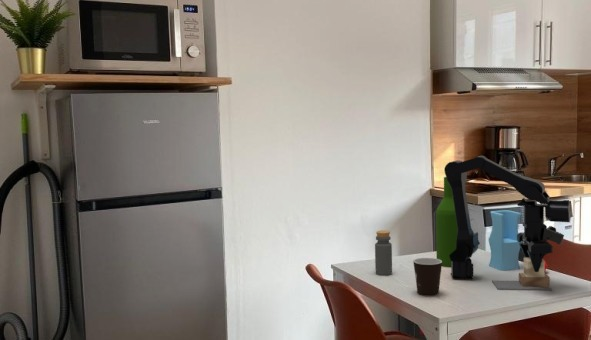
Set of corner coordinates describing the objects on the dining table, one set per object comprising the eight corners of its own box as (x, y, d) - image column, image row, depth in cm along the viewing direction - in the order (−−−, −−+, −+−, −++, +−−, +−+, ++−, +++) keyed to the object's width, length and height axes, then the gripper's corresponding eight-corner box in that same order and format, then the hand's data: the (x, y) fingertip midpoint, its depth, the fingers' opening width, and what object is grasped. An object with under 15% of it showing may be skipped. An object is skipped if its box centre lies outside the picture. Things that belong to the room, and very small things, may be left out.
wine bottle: (464, 266, 201) (463, 177, 199) (439, 267, 201) (438, 178, 199) (457, 261, 210) (456, 175, 207) (434, 261, 210) (433, 176, 208)
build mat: (497, 289, 172) (497, 288, 172) (492, 281, 181) (492, 280, 181) (552, 290, 170) (552, 289, 170) (543, 282, 179) (543, 281, 179)
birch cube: (527, 277, 173) (527, 261, 173) (523, 272, 178) (523, 257, 178) (544, 277, 172) (544, 261, 172) (540, 272, 177) (540, 257, 177)
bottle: (373, 275, 194) (372, 232, 193) (377, 270, 199) (376, 229, 198) (390, 276, 192) (389, 233, 190) (393, 271, 197) (393, 230, 196)
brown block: (522, 286, 173) (522, 276, 173) (518, 282, 178) (518, 272, 178) (549, 286, 172) (549, 277, 172) (545, 282, 177) (545, 273, 177)
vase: (501, 270, 194) (501, 214, 192) (488, 265, 202) (488, 211, 200) (521, 268, 196) (521, 213, 194) (507, 263, 203) (507, 209, 202)
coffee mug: (437, 298, 165) (436, 265, 165) (409, 294, 170) (409, 262, 169) (448, 288, 175) (448, 257, 174) (422, 285, 180) (421, 254, 179)
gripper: (571, 225, 163) (570, 277, 164) (552, 215, 182) (551, 262, 183) (531, 225, 165) (531, 277, 166) (516, 215, 183) (516, 262, 185)
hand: (533, 269), depth 175 cm, fingers open, 6 cm apart
